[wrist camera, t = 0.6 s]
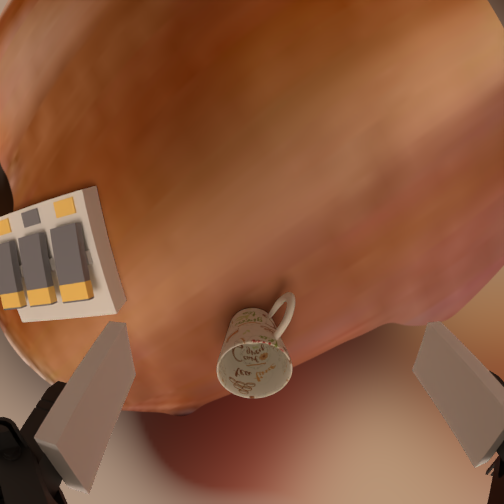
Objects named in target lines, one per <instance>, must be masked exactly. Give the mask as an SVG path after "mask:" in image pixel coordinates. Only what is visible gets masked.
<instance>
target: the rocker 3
mask: <svg viewBox="0 0 504 504" xmlns="http://www.w3.org/2000/svg"><path fill="white" fill-rule="evenodd" d="M50 234H51V241H52V248H53V255H54V261H55V266H56V272H57V277H58V282H59V288H60V293H61V297H62V302H63V304H64V303H72V302H80V301H88V300H91V299H93V298H94V293H93V288H92V284H91V280H90V275H89V269H88V264H87V258H86V252H85V246H84V240H83V233H82V226H81V223H72V224H68V225H64V226H60V227H57V228H53V229H50Z"/></svg>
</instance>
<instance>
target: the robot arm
mask: <svg viewBox="0 0 504 504" xmlns="http://www.w3.org/2000/svg"><path fill="white" fill-rule="evenodd" d="M412 371H413V373H414V374H415V375H416V377H417V378H418V380H419V381H420V382H421V384H422V386H423V387H424V389H425V390H426V392H427V393H428V395H429V396H430V398H431V399H432V401H433V402H434V403H435V405H436V407H437V408H438V410H439V411H440V413H441V414H442V416H443V417H444V419H445V420H446V422H447V423H448V425H449V427H450V428H451V430H452V431H453V433H454V435H455V436H456V438H457V439H458V441H459V443H460V444H461V446H462V447H463V449H464V451H465V452H466V454H467V455H468V457H469V459H470V461H471V462H472V464H473V466H474V467H477V466H480V465H482V464H484V463H486V462H488V461H489V460H490V458H491V457H492V456H493V455H494V453H495V452H497V453H498V454H499V456H498V457H497V459H496V460H495V461H494V462H493V464H492V465H491V466H490V467H489V468H488V470H487V471H486V474H487V475H488V473H489V472H490V471H491V470H492V468H494V471H493V472H492V474H491V476H493V478H492V484H491V489H490V494H489V499H488V503H487V504H504V382H503V381H502V379H501V378H500V377H499V376H497V375H496V374H494V373H493V372H491V371H488V370H487V368H486V367H485V366H484V365H483V364H482V363H481V362H480V361H479V360H478V359H477V358H476V357H475V356H474V355H473V354H472V353H471V352H470V351H469V350H468V349H467V348H466V347H465V346H464V345H463V343H462V342H461V341H459V340H458V338H457V337H456V336H455V335H454V334H453V333H452V332H450V330H448V328H446V327H445V326H444V325H443V324H442V323H441V322H440V321H439V322H429V323H428V324H427V327H426V330H425V334H424V337H423V340H422V343H421V346H420V349H419V352H418V355H417V358H416V361H415V364H414V366H413V369H412ZM135 375H136V373H135V369H134V364H133V359H132V354H131V349H130V344H129V338H128V333H127V327H126V323H121V322H111V321H109V323H108V324H107V325H106V327H105V328H104V330H103V331H102V332H101V334H100V335H99V337H98V338H97V339H96V341H95V342H94V344H93V345H92V347H91V348H90V350H89V351H88V353H87V354H86V355H85V357H84V358H83V360H82V361H81V363H80V364H79V366H78V367H77V369H76V370H75V372H74V373H73V375H72V376H71V378H70V379H69V381H68V383H64V382H60V381H58V382H56V383H55V384H53V385H52V386H51V387H49V388H48V389H47V390H46V392H45V393H44V395H43V396H42V398H41V400H40V401H39V402H38V404H37V405H36V408H34V410H33V411H32V413H31V414H30V416H29V417H28V419H27V420H26V422H25V424H24V425H23V427H22V428H21V430H20V431H19V429H18V427H17V426H16V424H15V423H14V422H13V421H12V420H11V419H8V418H5V417H0V504H67V502H66V499H65V497H64V495H63V492H62V491H61V489H60V488H59V486H60V484H61V481H62V480H63V481H64V482H65V484H66V485H67V486H68V487H69V488H71V489H74V490H77V491H80V492H83V493H86V494H89V493H90V490H91V488H92V485H93V482H94V479H95V476H96V473H97V470H98V468H99V465H100V462H101V460H102V457H103V455H104V452H105V449H106V446H107V444H108V441H109V439H110V436H111V434H112V431H113V429H114V426H115V424H116V421H117V419H118V416H119V414H120V411H121V409H122V406H123V404H124V401H125V399H126V397H127V394H128V392H129V389H130V387H131V385H132V382H133V380H134V378H135Z"/></svg>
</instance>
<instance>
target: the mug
mask: <svg viewBox="0 0 504 504" xmlns="http://www.w3.org/2000/svg"><path fill="white" fill-rule="evenodd" d="M284 302H287V308H286V312H285V315H284V317H283V320H282V321H281V323H280V324H279V326H278V327H277V328H276V325H275V323H274V321H273V319H272V318H271V317H272V316H273V315H274V314H275V312H276V311H277V310H278V308H279V307H280V306H281V305H282V304H283V303H284ZM294 308H295V296H294V294H293V293H291V292H287V293H285V294H283V295H282V296H281V297H280V298H278V299H277V300H276V302H275V303H274V305H273V307H272V309H271V310H270V312H269V314H268V313H267V312H265V311H264V310H261V309H258V308H247V309H243V310H241V311H239V312H238V313H237V314H235V315H234V317H233V318H232V320H231V322H230V325H229V328H228V331H227V334H226V337H225V340H224V343H223V346H222V349H221V352H220V356H219V359H218V362H217V376H218V379H219V381H220V383H221V384H222V385H223V386H224V388H226V389H227V390H228V391H229V392H231V393H233V394H235V395H238V396H241V397H245V398H262V397H266V396H269V395H272V394H274V393H276V392H278V391H279V390H281V389H282V388H283V387H284V386H285V385H286V384H287V383H288V381H289V379H290V377H291V374H292V362H291V359H290V356H289V354H288V352H287V349H286V347H285V345H284V343H283V341H282V339H281V335H282V333H283V332H284V331H285V329H286V328H287V326H288V324H289V323H290V321H291V318H292V315H293V312H294Z"/></svg>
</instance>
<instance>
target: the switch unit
mask: <svg viewBox="0 0 504 504" xmlns="http://www.w3.org/2000/svg"><path fill="white" fill-rule="evenodd" d="M72 223H81V226H82V233H83V240H84V246H85V252H86V258H87V264H88V269H89V275H90V280H91V284H92V288H93V293H94V298H93V299H91V300H88V301H80V302H72V303H64V304H63V302H62V297H61V293H60V288H59V282H58V277H57V272H56V266H55V261H54V255H53V248H52V241H51V234H50V229H53V228H57V227H60V226H64V225H68V224H72ZM38 232H45V237H46V244H47V251H48V257H49V263H50V269H51V274H52V279H53V284H54V288H55V293H56V297H57V303H55V304H53V305H47V306H38V307H30V304H29V299H28V295H27V289H26V284H25V279H24V274H23V268H22V263H21V256H20V250H19V242H18V238H21V237H24V236H28V235H31V234H35V233H38ZM8 241H15V243H16V250H17V257H18V263H19V269H20V275H21V280H22V285H23V290H24V294H25V298H26V303H27V306H26V307H23V308H20V309H17V310H18V312H19V315H20V317H21V320H22V322H33V321H46V320H58V319H70V318H80V317H91V316H101V315H110V314H117V313H118V311H119V310H120V309H121V307H122V306H123V305H124V303H125V302H126V297H125V294H124V291H123V288H122V284H121V281H120V278H119V274H118V271H117V268H116V264H115V261H114V257H113V253H112V250H111V246H110V242H109V238H108V235H107V231H106V227H105V222H104V218H103V214H102V210H101V205H100V201H99V196H98V191H97V186H93V187H89V188H86V189H82V190H78V191H75V192H72V193H69V194H65V195H62V196H59V197H56V198H53V199H50V200H47V201H44V202H41V203H38V204H35V205H32V206H29V207H26V208H23V209H21V210H18V211H15V212H13V213H10V214H7V215H4V216H2V217H0V244H1V243H4V242H8Z"/></svg>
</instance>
